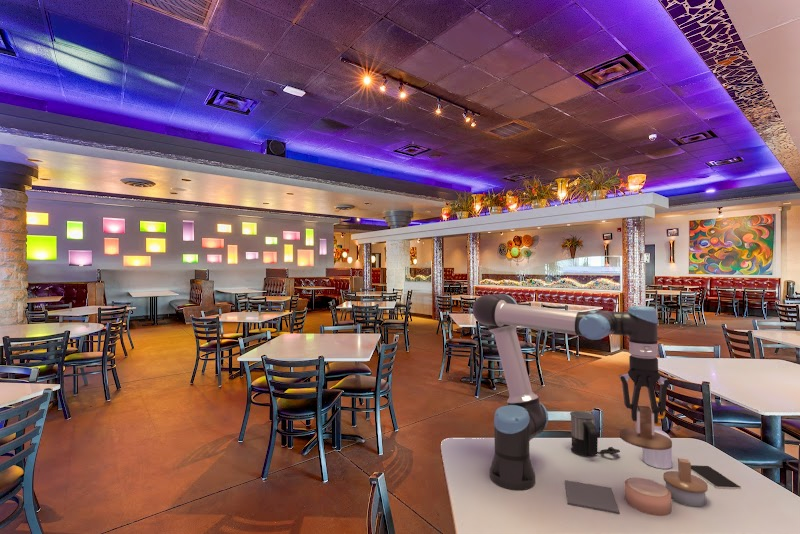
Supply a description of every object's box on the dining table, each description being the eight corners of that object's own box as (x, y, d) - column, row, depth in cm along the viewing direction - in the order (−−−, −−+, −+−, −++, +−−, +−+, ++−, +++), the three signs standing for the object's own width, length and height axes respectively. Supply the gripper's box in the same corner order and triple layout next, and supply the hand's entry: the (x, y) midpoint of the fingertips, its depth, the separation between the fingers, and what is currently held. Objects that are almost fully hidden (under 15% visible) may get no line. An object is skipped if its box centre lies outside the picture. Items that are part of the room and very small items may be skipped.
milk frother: (565, 448, 154) (564, 411, 155) (596, 443, 159) (595, 408, 160) (592, 464, 141) (591, 424, 141) (625, 458, 145) (624, 419, 146)
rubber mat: (567, 504, 116) (567, 502, 116) (565, 481, 129) (565, 479, 129) (619, 514, 111) (619, 512, 111) (611, 489, 124) (611, 487, 124)
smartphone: (708, 465, 139) (742, 487, 124) (708, 469, 139) (742, 491, 124) (685, 464, 139) (716, 486, 124) (685, 468, 139) (716, 490, 124)
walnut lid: (624, 445, 113) (623, 411, 113) (615, 428, 126) (615, 398, 126) (678, 453, 108) (677, 417, 108) (664, 434, 121) (663, 403, 121)
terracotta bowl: (629, 510, 113) (628, 492, 113) (621, 489, 124) (621, 473, 124) (677, 519, 108) (676, 500, 108) (664, 497, 120) (664, 480, 120)
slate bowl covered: (669, 503, 116) (668, 465, 116) (659, 485, 126) (658, 450, 127) (714, 511, 112) (713, 472, 113) (699, 491, 123) (698, 455, 123)
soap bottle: (644, 455, 148) (642, 392, 149) (673, 462, 142) (671, 396, 143) (641, 464, 141) (639, 397, 142) (671, 472, 135) (669, 402, 136)
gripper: (616, 356, 117) (617, 433, 116) (678, 360, 111) (680, 441, 111) (612, 352, 124) (613, 424, 123) (670, 355, 118) (671, 431, 118)
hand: (644, 432), depth 117 cm, fingers closed on walnut lid, 3 cm apart
